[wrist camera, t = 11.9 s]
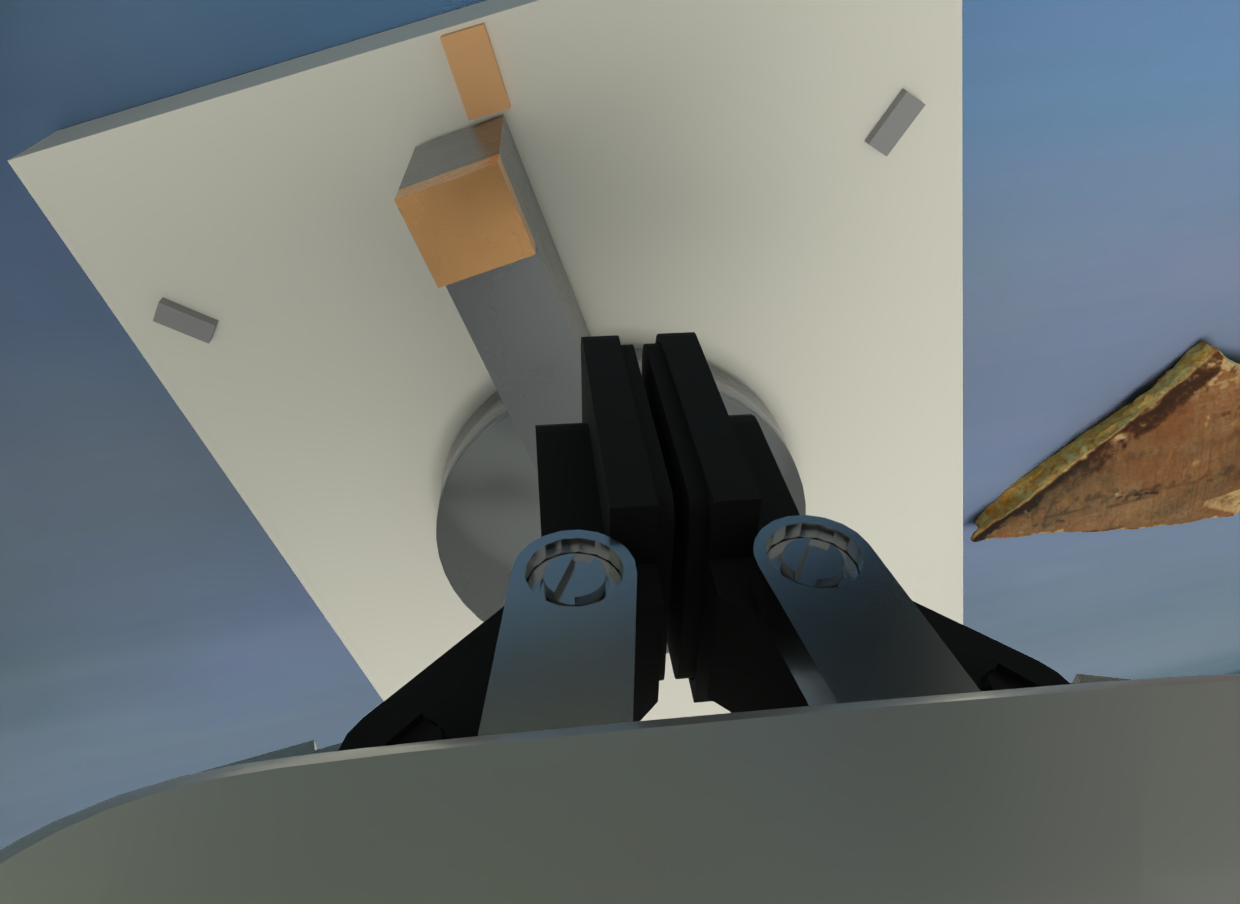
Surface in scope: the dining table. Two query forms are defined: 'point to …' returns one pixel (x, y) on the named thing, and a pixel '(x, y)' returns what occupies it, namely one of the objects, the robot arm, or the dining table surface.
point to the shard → (1139, 461)
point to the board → (588, 248)
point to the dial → (510, 350)
